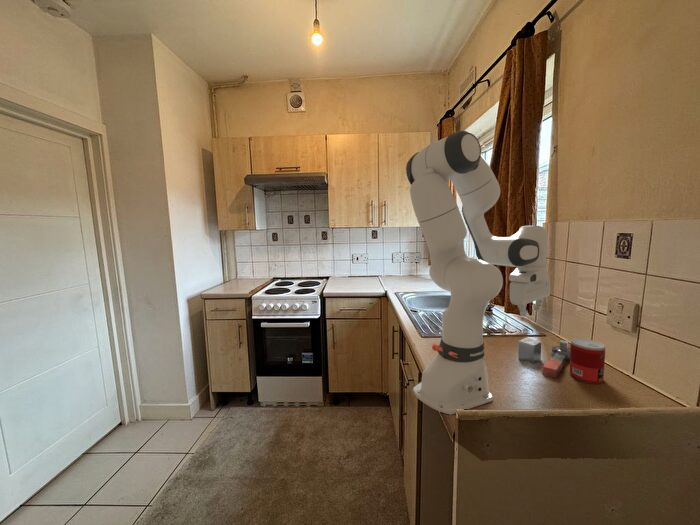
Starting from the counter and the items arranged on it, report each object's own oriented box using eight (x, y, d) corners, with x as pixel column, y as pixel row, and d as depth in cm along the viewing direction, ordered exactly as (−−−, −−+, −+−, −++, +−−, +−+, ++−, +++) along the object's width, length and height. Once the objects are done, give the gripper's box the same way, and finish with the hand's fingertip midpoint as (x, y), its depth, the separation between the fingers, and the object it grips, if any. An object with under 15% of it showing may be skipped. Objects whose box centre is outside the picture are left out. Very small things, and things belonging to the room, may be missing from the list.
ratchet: (562, 380, 85) (563, 363, 85) (535, 372, 91) (536, 356, 90) (578, 356, 100) (578, 341, 99) (554, 350, 105) (554, 336, 104)
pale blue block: (533, 363, 96) (533, 345, 95) (518, 358, 100) (518, 340, 100) (540, 359, 99) (541, 341, 98) (525, 354, 103) (526, 337, 102)
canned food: (606, 386, 81) (608, 350, 80) (570, 380, 85) (572, 345, 84) (600, 374, 88) (602, 340, 86) (567, 369, 92) (569, 336, 90)
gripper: (536, 268, 104) (536, 305, 106) (505, 276, 93) (505, 316, 95) (556, 270, 99) (555, 308, 100) (526, 278, 88) (525, 321, 90)
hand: (530, 312), depth 98 cm, fingers open, 8 cm apart
